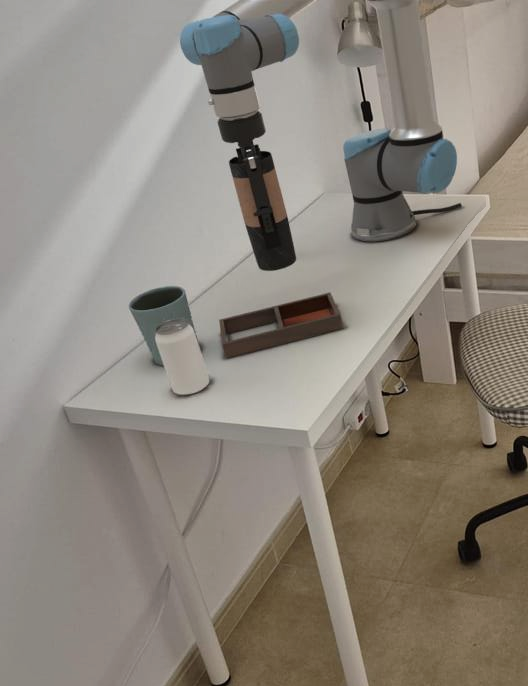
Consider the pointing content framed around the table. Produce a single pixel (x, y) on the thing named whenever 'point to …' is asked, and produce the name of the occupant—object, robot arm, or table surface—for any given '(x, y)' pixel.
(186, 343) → the can
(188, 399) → the table surface
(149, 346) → the green tapered cup
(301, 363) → the table surface
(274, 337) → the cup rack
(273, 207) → the travel mug
